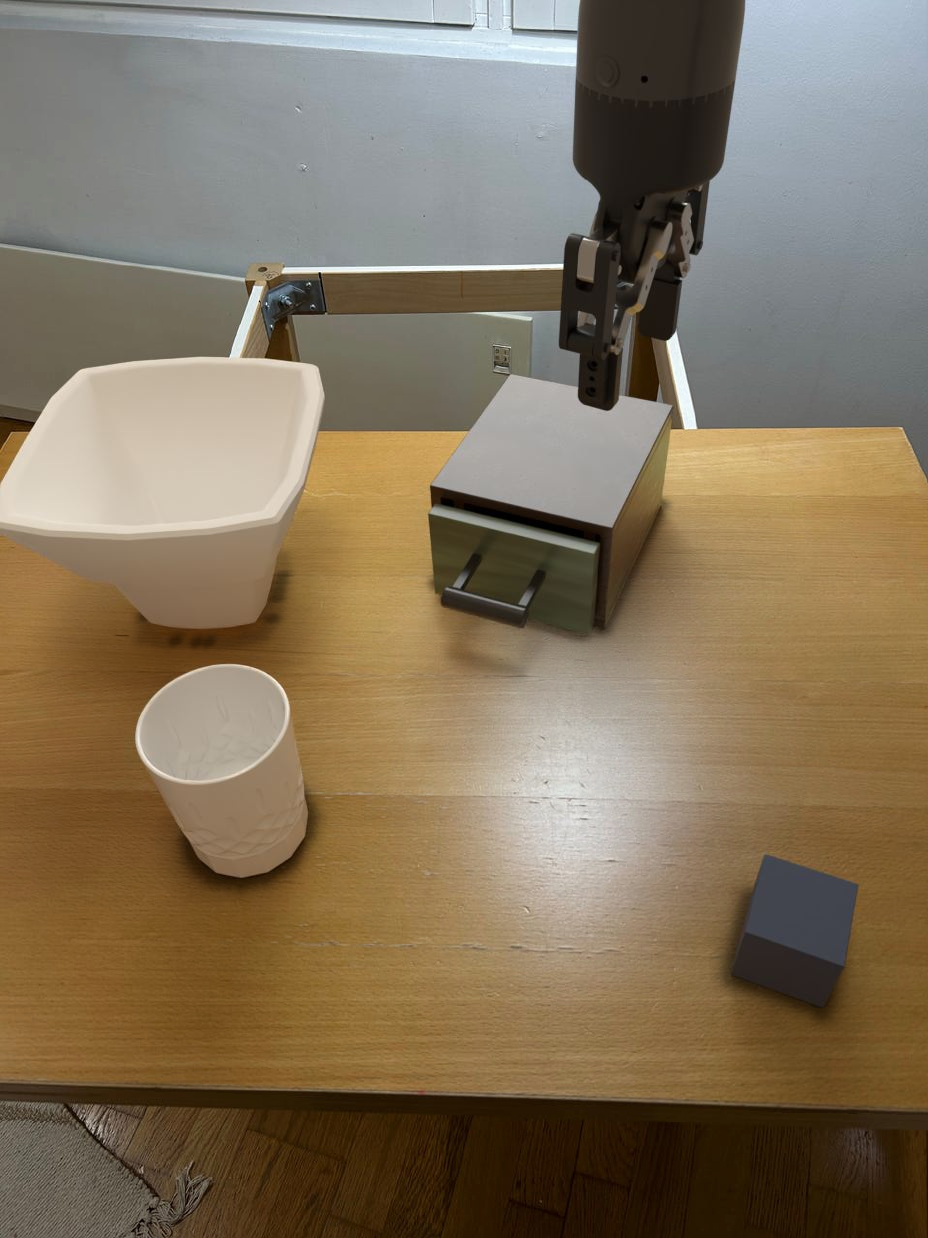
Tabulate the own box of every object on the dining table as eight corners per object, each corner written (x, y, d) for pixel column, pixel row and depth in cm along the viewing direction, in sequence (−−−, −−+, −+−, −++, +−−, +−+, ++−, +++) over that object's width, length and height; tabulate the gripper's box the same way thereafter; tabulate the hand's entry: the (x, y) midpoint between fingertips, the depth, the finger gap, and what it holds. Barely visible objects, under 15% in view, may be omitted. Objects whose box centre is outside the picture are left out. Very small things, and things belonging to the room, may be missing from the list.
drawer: (564, 687, 63) (568, 606, 58) (404, 640, 66) (394, 560, 61) (644, 515, 75) (654, 434, 69) (505, 483, 78) (504, 404, 73)
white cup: (235, 755, 61) (197, 646, 54) (343, 799, 59) (318, 690, 52) (155, 856, 56) (102, 751, 49) (269, 909, 54) (230, 806, 47)
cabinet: (604, 630, 68) (612, 528, 61) (437, 585, 71) (429, 485, 65) (661, 504, 77) (674, 404, 70) (511, 470, 81) (510, 373, 74)
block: (837, 928, 52) (858, 883, 48) (823, 1008, 49) (844, 967, 45) (749, 898, 53) (764, 853, 50) (730, 974, 50) (745, 932, 47)
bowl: (357, 509, 78) (334, 352, 68) (326, 696, 64) (291, 534, 54) (127, 512, 79) (70, 357, 69) (47, 697, 65) (-37, 538, 55)
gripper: (673, 128, 41) (639, 449, 52) (781, 32, 49) (731, 328, 61) (514, 103, 44) (515, 413, 55) (641, 17, 52) (619, 302, 64)
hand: (628, 368), depth 58 cm, fingers open, 8 cm apart
